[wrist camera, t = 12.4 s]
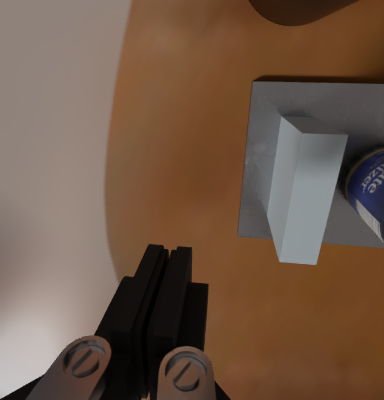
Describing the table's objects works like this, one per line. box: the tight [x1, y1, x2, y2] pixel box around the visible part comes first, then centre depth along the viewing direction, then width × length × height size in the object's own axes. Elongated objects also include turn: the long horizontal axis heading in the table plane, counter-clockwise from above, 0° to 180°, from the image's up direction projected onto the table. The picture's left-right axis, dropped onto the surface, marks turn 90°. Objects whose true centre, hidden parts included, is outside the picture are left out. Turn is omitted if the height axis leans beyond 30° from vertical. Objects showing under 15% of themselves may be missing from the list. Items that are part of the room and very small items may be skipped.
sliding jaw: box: [267, 116, 348, 265], centre depth 21 cm, size 9×2×7 cm, turn 179°
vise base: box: [237, 81, 384, 248], centre depth 21 cm, size 14×19×8 cm
